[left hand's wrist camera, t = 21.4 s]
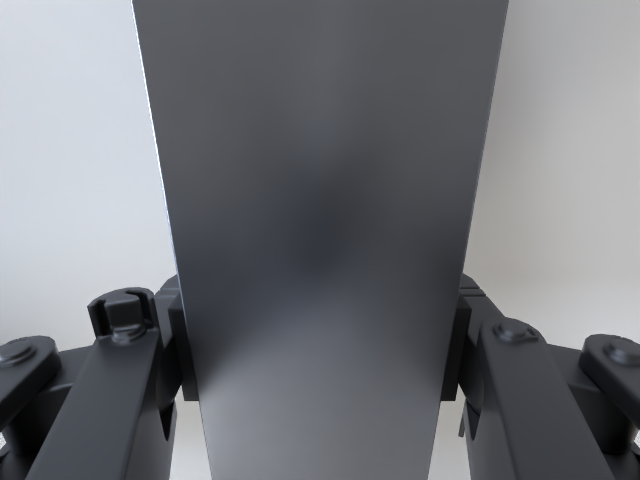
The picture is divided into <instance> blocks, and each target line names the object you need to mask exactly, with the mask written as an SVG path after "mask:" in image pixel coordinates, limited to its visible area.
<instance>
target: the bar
mask: <svg viewBox="0 0 640 480" xmlns="http://www.w3.org/2000/svg"><path fill="white" fill-rule="evenodd" d="M508 2H509V0H131V5H132V11H133V17H134V23H135V29H136V35H137V41H138V47H139V52H140V58H141V64H142V70H143V76H144V82H145V88H146V94H147V99H148V105H149V111H150V117H151V123H152V129H153V135H154V141H155V146H156V152H157V158H158V164H159V170H160V176H161V182H162V188H163V193H164V199H165V205H166V211H167V217H168V223H169V229H170V234H171V240H172V246H173V252H174V258H175V264H176V270H177V276H178V281H179V287H180V293H181V299H182V305H183V311H184V317H185V323H186V328H187V334H188V340H189V346H190V352H191V358H192V364H193V370H194V375H195V381H196V387H197V393H198V399H199V405H200V411H201V417H202V422H203V428H204V434H205V440H206V446H207V452H208V458H209V464H210V469H211V475H212V480H427V479H428V473H429V467H430V461H431V455H432V450H433V444H434V438H435V432H436V426H437V420H438V414H439V408H440V402H441V397H442V391H443V385H444V379H445V373H446V367H447V361H448V355H449V349H450V343H451V338H452V332H453V326H454V320H455V314H456V308H457V302H458V296H459V290H460V285H461V279H462V273H463V267H464V261H465V255H466V249H467V243H468V237H469V232H470V226H471V220H472V214H473V208H474V202H475V196H476V190H477V184H478V178H479V173H480V167H481V161H482V155H483V149H484V143H485V137H486V131H487V125H488V120H489V114H490V108H491V102H492V96H493V90H494V84H495V78H496V72H497V67H498V61H499V55H500V49H501V43H502V37H503V31H504V25H505V19H506V13H507V8H508Z"/></svg>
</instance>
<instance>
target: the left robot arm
mask: <svg viewBox="0 0 640 480" xmlns="http://www.w3.org/2000/svg"><path fill="white" fill-rule="evenodd" d="M87 308H88V311H89V315H90V318H91V322H92V325H93V329H94V332H95V336H96V340H95V342H94V344H93V345H91V346H87V347H82V348H77V349H72V350H67V351H61V352H58V350H57V347H56V344H55V341H54V340H53V339H51V338H50V337H47V336H32V337H23V338H19V339H18V340H17V339H16V340H13V341H10V342H8V343H7V344H4V345H2V346H0V432H2V434H3V436H4V439H5V441H6V444H5V445H4V446H3V447H2V449H1V450H0V480H169V476H170V468H171V460H172V451H173V443H174V435H175V427H176V419H177V410H176V404H175V399H174V398H175V396H176V394H177V392H178V390H179V388H180V386H181V385H182V390H183V396H184V401H199V399H198V393H197V387H196V381H195V375H194V370H193V364H192V358H191V352H190V346H189V340H188V334H187V328H186V323H185V317H184V311H183V305H182V299H181V293H180V287H179V281H178V276H177V275H175V276H173V277H172V278H170V279H168V280H167V281H166V282H165V284H164V285H163V286H162V287H161V288H160V290H159V291H158V292H157V293H156V294H155V295H154V294H153V292H152V291H150V290H149V289H146V288H140V287H132V288H124V289H119V290H114V291H112V292H109V293H106V294H103V295H102V296H100V297H98V298H96V299H95V300H93V301H92V302H91V303H90V304H89V305H88V306H87ZM458 383H459V385H460V387H461V389H462V391H463V393H464V395H465V397H466V399H465V404H464V409H463V414H462V419H461V424H460V429H459V435H458V436H459V437H463V436H464V431H465V434H466V442H467V450H468V459H469V467H470V475H471V480H640V448H639V447H638V446H637V445H636V443H635V442H634V439H635V437H636V435H637V433H638V431H639V430H640V344H637V343H635V342H633V341H632V340H630V339H627V338H624V337H623V338H621V337H620V336H615V335H606V334H596V335H590V336H589V337H588V338H586V339H585V342H584V345H583V348H582V350H576V349H571V348H566V347H561V346H556V345H551V344H547V343H546V341H545V339H544V337H543V336H542V335H541V334H540V333H539V331H538V330H536V329H535V328H533V327H532V326H530V325H529V324H526V323H524V322H521V321H519V320H516V319H512V318H508V317H505V316H504V315H503V314H502V313H501V312H500V311H499V309H498V308H497V307H496V306H495V305H494V304H493V302H492V301H491V300H490V299H489V298H488V297H486V294H485V293H484V292H483V291H482V290H481V289H480V287H479V286H478V285H477V284H476V283H475V281H474V280H473V279H472V278H470V277H468V276H467V275H465V274H463V273H462V279H461V285H460V290H459V296H458V302H457V308H456V314H455V320H454V326H453V332H452V338H451V343H450V349H449V355H448V361H447V367H446V373H445V379H444V385H443V391H442V397H441V401H455V399H456V394H457V388H458Z"/></svg>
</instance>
